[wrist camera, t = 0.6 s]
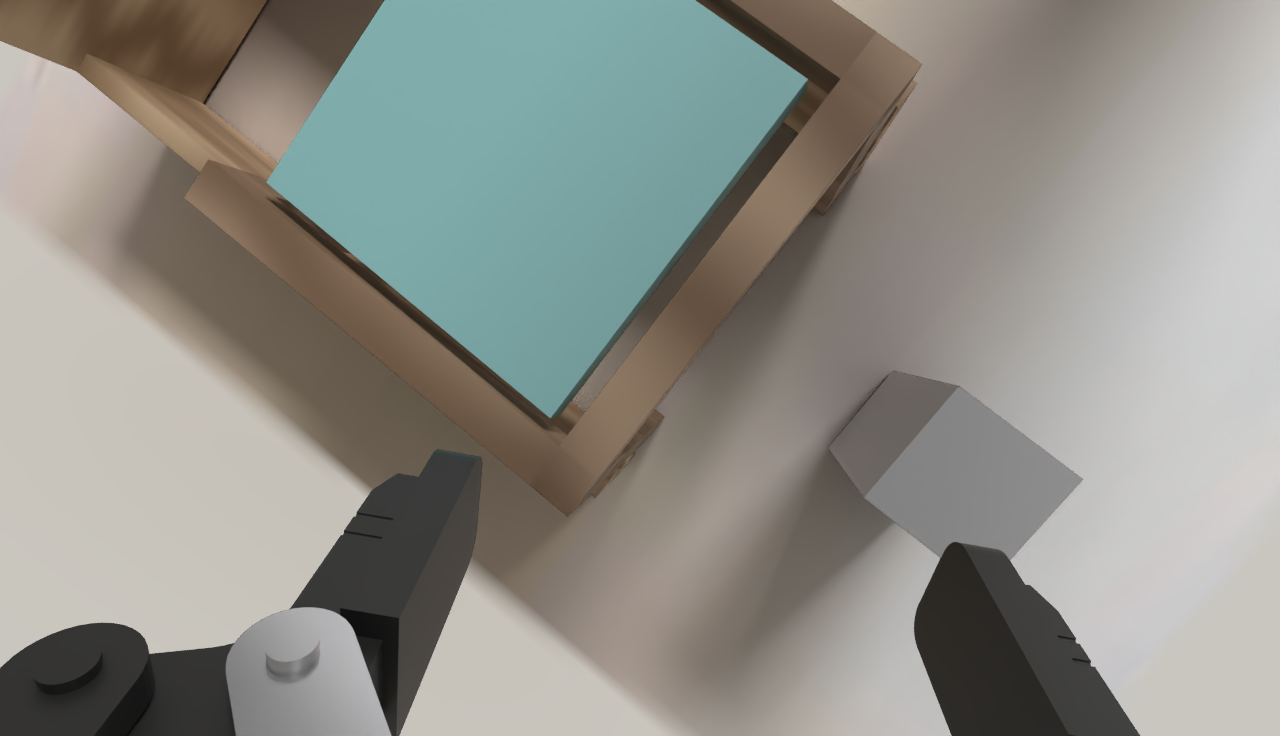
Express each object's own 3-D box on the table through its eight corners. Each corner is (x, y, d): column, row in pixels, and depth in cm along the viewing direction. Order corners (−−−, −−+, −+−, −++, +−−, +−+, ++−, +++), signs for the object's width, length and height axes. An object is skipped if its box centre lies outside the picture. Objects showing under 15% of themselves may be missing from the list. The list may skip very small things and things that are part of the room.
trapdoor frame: (372, -201, 37) (92, -602, 21) (868, 157, 34) (972, 0, 18) (181, 107, 40) (-195, -45, 24) (624, 467, 36) (528, 566, 21)
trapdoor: (495, -127, 21) (481, -150, 20) (806, 92, 20) (807, 79, 19) (287, 189, 23) (265, 182, 22) (560, 415, 21) (550, 418, 20)
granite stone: (892, 370, 34) (959, 386, 23) (975, 433, 34) (1083, 479, 23) (828, 447, 35) (863, 497, 24) (908, 510, 34) (982, 590, 23)
